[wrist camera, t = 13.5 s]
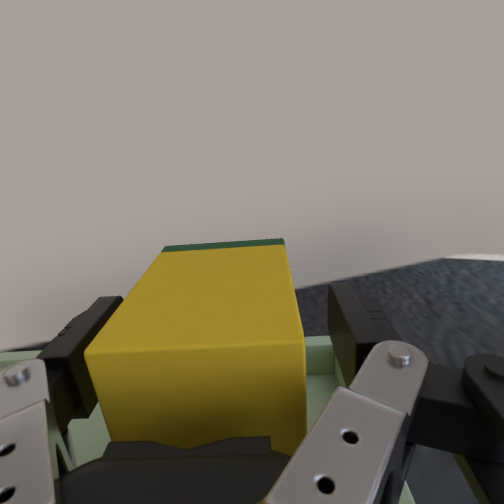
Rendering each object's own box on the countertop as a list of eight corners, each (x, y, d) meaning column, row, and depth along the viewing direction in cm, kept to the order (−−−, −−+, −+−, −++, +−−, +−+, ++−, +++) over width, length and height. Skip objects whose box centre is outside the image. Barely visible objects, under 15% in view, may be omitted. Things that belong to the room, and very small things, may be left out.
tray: (345, 371, 19) (346, 334, 18) (510, 849, 7) (542, 807, 6) (-9, 387, 20) (-25, 353, 19) (-456, 827, 8) (-565, 789, 7)
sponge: (291, 409, 16) (283, 237, 13) (311, 586, 10) (306, 341, 7) (195, 413, 16) (164, 245, 13) (156, 589, 10) (80, 352, 7)
